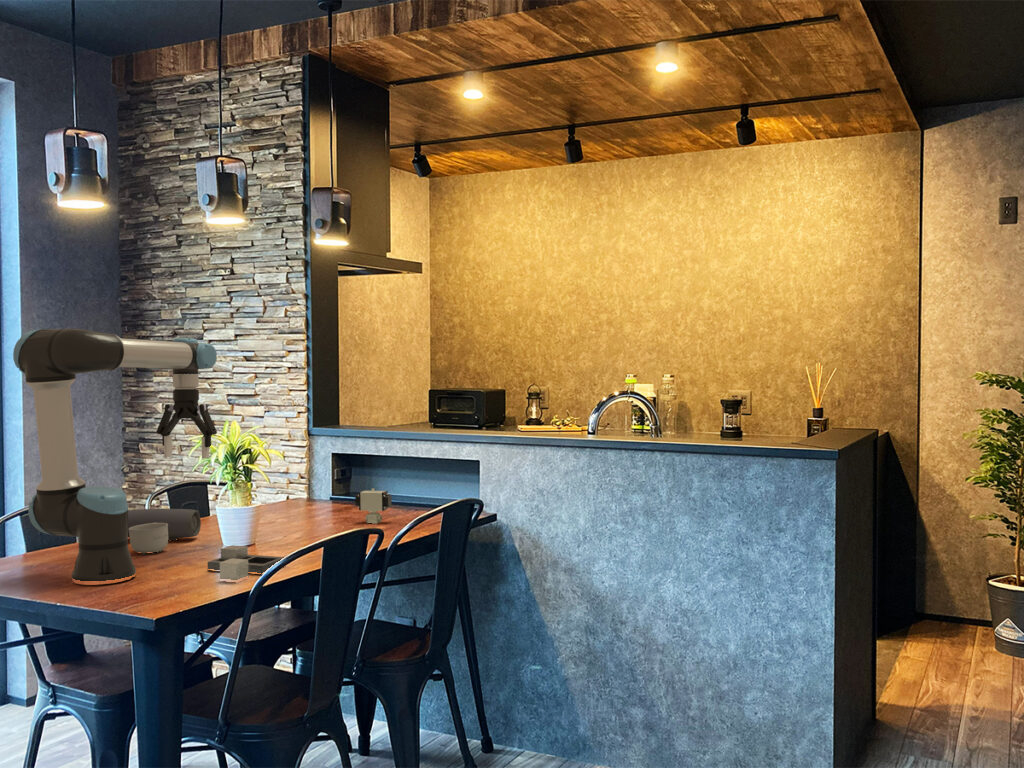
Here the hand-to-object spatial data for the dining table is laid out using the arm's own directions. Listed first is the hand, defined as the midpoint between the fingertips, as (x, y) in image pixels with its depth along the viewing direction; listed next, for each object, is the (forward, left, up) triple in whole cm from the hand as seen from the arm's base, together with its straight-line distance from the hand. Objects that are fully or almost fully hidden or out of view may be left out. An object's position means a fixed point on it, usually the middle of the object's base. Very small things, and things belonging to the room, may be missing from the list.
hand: (186, 457), depth 284 cm
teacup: (-13, +3, -27) cm, 30 cm away
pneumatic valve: (+48, -39, -27) cm, 67 cm away
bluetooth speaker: (+2, +12, -27) cm, 29 cm away
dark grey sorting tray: (-25, -39, -27) cm, 53 cm away
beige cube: (-37, -43, -27) cm, 63 cm away
